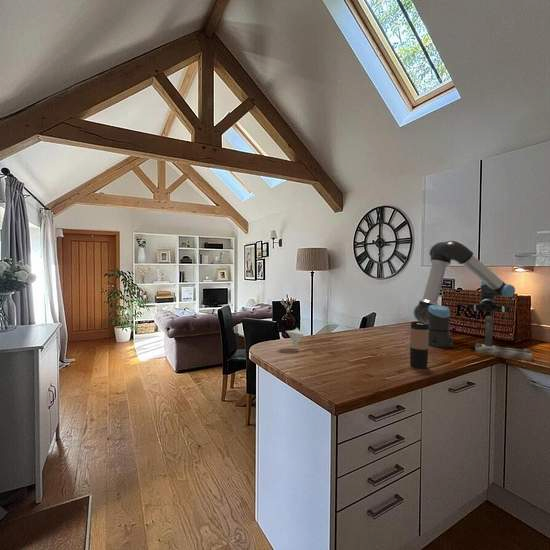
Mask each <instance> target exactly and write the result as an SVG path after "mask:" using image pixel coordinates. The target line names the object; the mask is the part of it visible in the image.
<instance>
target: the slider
mask: <svg viewBox="0 0 550 550" xmlns="http://www.w3.org/2000/svg"><path fill="white" fill-rule="evenodd" d="M494 320H495V319H494V317H493V316H491V315H487V316H485V318H484V321H485V333H484V334H485V336H484V344H483V343H481V345H482V347H485V348H493V349H495V346H496V345H493V328H494V327H493V326H494Z"/></svg>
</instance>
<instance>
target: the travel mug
mask: <svg viewBox="0 0 550 550" xmlns="http://www.w3.org/2000/svg"><path fill="white" fill-rule="evenodd" d="M409 338H410V341H409V342H410V343H409V354H410V355H409V356H410V357H409V359H410V361H409V363H410V364H409V365H410V367H411V368H412V367H413V368H416V369H427V368H428V360H429V345H428V339H429V324H425V323H423V322H419V321H411V322H410V337H409Z"/></svg>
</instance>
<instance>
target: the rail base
mask: <svg viewBox="0 0 550 550" xmlns="http://www.w3.org/2000/svg"><path fill="white" fill-rule="evenodd" d="M494 346H495V349H493V348H485V347H482V343H480V342H476V343H475V345H474V353H479V354H487V355H494V356H499V357H498V358H503V359H510V360H516V359H519V360H518V361H523V360H529V361H528V362H530V361H532V362H533V354H532V353H531V350H530V349H529V348H523V349H520V348H511V347H502V346H497V345H494ZM479 354H478V355H479ZM487 355H486V356H487ZM494 356H493V357H494Z"/></svg>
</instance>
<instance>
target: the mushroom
mask: <svg viewBox="0 0 550 550" xmlns="http://www.w3.org/2000/svg"><path fill="white" fill-rule="evenodd" d="M285 333H287V334H288V336H289V337H290V339H291V342H292V345H293V349H294V350H296V347H297V344H298V342H299V340H300V339H301V338H302V337H304V336H305V333H303V332H302V331H300V329H299V328H298V327H296V328H295V329H292V330H285Z"/></svg>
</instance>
